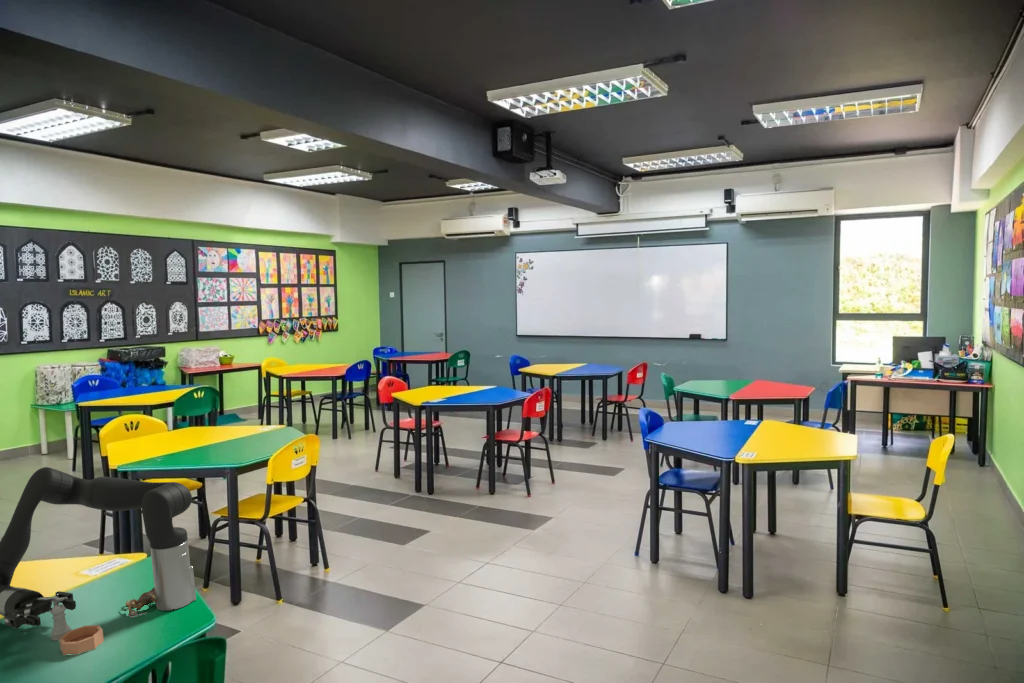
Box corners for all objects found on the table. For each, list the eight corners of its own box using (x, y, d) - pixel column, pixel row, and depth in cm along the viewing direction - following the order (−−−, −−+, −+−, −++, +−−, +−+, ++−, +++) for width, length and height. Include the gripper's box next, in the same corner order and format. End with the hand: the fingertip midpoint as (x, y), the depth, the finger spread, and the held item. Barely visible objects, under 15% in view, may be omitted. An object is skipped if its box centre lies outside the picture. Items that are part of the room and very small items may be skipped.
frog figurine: (151, 593, 193) (150, 581, 192) (175, 602, 186) (173, 589, 186) (110, 611, 183) (108, 598, 183) (133, 621, 177) (132, 607, 176)
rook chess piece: (68, 630, 173) (65, 600, 172) (74, 635, 170) (71, 605, 169) (48, 638, 169) (44, 607, 169) (54, 643, 166) (50, 612, 166)
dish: (97, 632, 171) (96, 621, 170) (106, 644, 165) (105, 632, 164) (58, 646, 165) (56, 635, 164) (66, 659, 159) (64, 647, 158)
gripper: (-14, 602, 169) (25, 612, 163) (45, 578, 182) (83, 587, 175) (-10, 630, 170) (28, 642, 163) (48, 604, 183) (86, 614, 176)
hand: (57, 613), depth 169 cm, fingers open, 8 cm apart
